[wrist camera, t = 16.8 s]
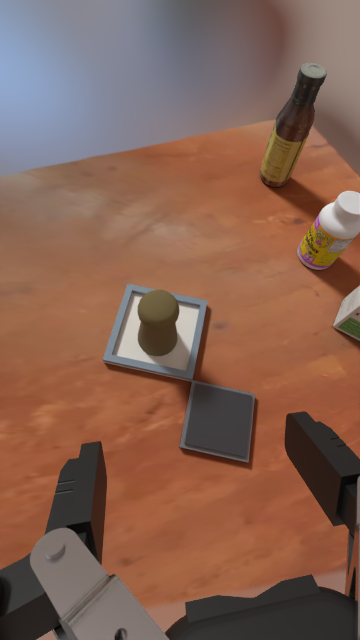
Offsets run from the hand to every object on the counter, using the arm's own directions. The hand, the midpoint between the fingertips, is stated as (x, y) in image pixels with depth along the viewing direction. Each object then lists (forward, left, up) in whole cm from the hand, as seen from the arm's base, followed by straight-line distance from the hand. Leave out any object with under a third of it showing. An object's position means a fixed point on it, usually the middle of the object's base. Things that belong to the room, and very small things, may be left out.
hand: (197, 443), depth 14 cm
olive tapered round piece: (-5, +17, -30) cm, 35 cm away
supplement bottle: (+18, +39, -31) cm, 53 cm away
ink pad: (+5, +7, -31) cm, 32 cm away
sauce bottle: (+9, +57, -31) cm, 65 cm away
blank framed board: (-6, +18, -31) cm, 36 cm away
